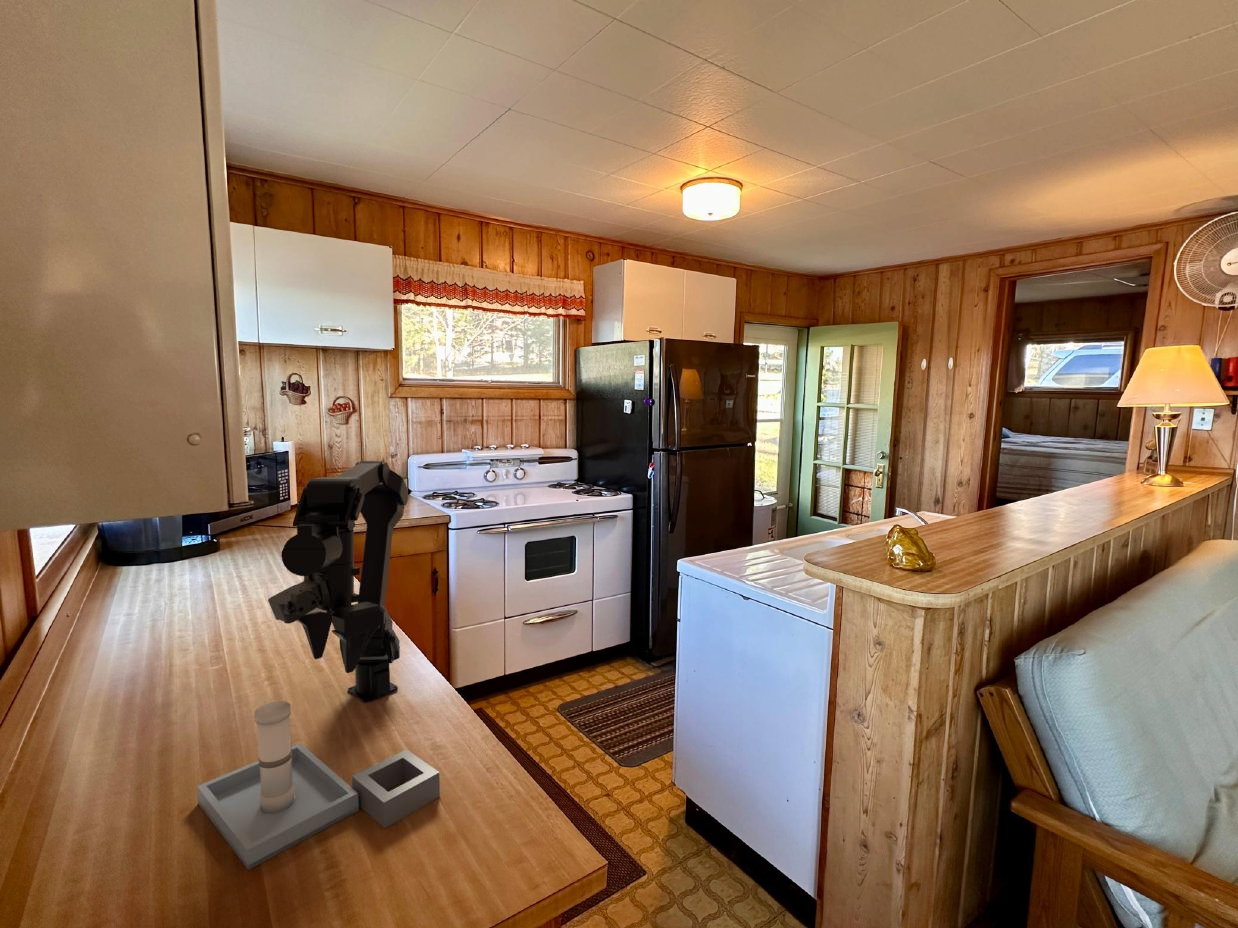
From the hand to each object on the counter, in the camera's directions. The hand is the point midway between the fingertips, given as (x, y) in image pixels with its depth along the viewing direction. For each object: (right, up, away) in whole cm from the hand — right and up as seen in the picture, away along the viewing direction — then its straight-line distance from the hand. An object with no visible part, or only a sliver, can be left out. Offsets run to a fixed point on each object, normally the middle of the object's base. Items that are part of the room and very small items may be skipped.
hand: (333, 665), depth 91 cm
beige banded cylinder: (-2, -14, -12) cm, 19 cm away
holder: (+13, -15, -10) cm, 22 cm away
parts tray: (-2, -15, -12) cm, 19 cm away
